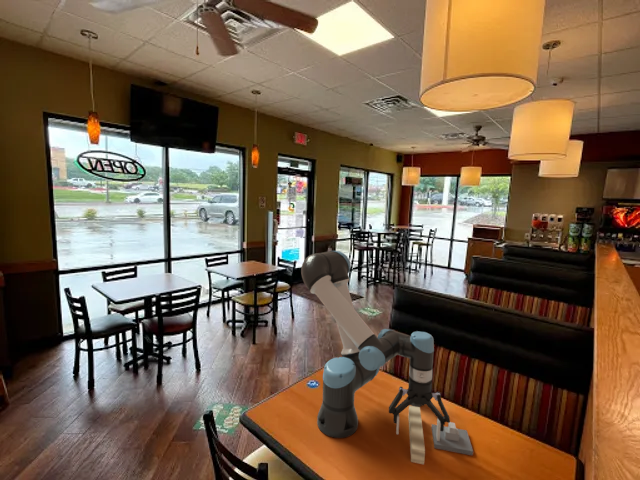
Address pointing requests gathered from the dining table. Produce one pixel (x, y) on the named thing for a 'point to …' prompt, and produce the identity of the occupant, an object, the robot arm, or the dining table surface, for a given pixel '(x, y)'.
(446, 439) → the fulcrum
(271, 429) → the dining table surface
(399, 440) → the dining table surface
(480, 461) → the dining table surface
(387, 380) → the dining table surface
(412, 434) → the beam
